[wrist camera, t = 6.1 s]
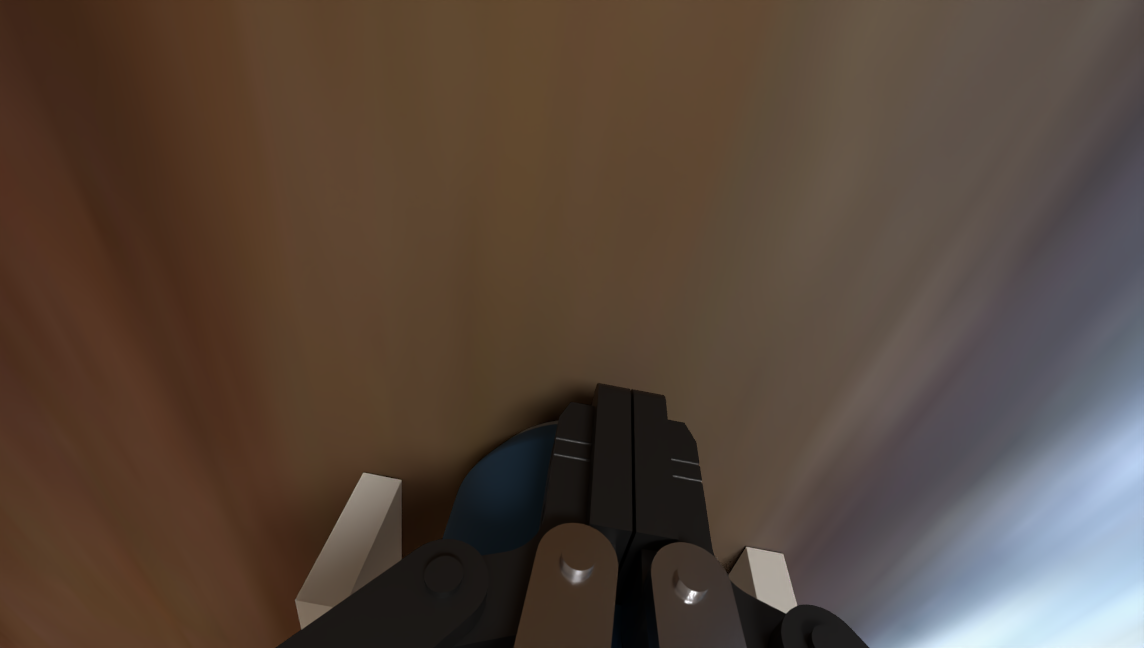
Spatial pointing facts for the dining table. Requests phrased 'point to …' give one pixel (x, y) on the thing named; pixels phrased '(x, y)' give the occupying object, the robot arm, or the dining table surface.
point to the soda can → (508, 498)
